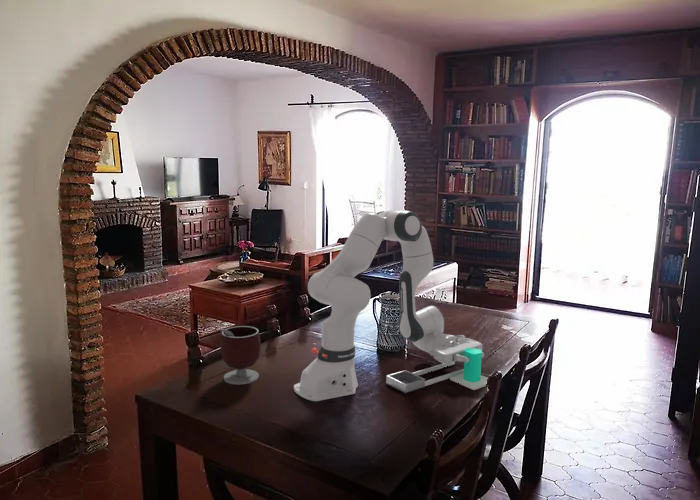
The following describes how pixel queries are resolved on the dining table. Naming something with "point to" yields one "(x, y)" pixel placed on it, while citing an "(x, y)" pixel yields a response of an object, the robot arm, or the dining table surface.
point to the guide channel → (439, 376)
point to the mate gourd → (240, 353)
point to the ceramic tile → (469, 384)
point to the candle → (473, 365)
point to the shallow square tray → (405, 381)
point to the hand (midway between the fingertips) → (475, 357)
